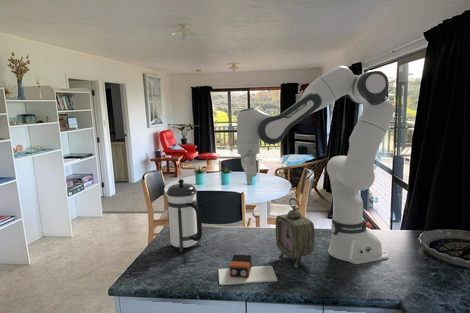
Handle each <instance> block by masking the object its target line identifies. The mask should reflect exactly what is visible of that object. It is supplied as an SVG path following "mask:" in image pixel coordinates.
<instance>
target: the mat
mask: <svg viewBox="0 0 470 313" xmlns="http://www.w3.org/2000/svg"><path fill="white" fill-rule="evenodd" d="M271 282H278V278H277V276H276V273H275V271H274V268H273V265H259V266H251V270H250V274H249V278H241V277H230V267H228V268H218V285H219V286H227V285H241V284H242V285H243V284H244V285H245V284H256V283H271Z"/></svg>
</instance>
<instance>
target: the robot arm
mask: <svg viewBox="0 0 470 313" xmlns="http://www.w3.org/2000/svg"><path fill="white" fill-rule="evenodd" d="M389 85H390V84H389V79H388V75H386V74H385V72H383V71H380V70H377V69H372V70H367V71H364V73H361V74H359V75H356V74H354V73H353V71H352V70H351V69H350V68H349V67H347V66H346V65H345V66H344V65H340V66H337V67H335V68H333V69H331V70H329V71H327V72H325V73H323V74H322V75H320V76H319V77H317V78H316V79H315V80H313V81H312V82H311V83H310V84H309V85H307V87H306V88H305V89H304V91H303V94H302V96H301V97H300V98H299V100H297V102H295V103H293V105H291V106H289V107H288V108H286V110H284V111H283V112H281V113H279V114H277V115H271V114H268V113H266V112H264V111H261V110H259V109H258V108H257V107H250V108H245V109H241V110H240V111H239V112H238V114H237V117H236V132H237V141H236V143H237V144H236V145H237V147H236V148H237V151H236V152H237V154H238V155H240V163H241V167H242V169H243V171H244V173H245V177H246V183H247V184H248V185H251V184H252V183H253V177H254V178H255V177H257V175H258V171H257V170H258V169H257V166H258V165H257V155H259V154H260V151H261V150H260V141H262V142H263V143H265V144H267V145H277V144H279V143H280V142H282V141H283V140H284V138H285V137H286V135H287V134H288V132H289V131H290V130H291V128H293V127H294V126H295V125H297V124H298V123H300V122H301V121H302V120H304V119H305V118H307V117H308V116H309V115H311V114H313V113H315V112H318V111H319V110H322V109H324V108H326V107H327V106H329V105H331V104H332V103H334V102H336V101H338V99H340V98H341V97H344V96H345V97H347V98H348V99H349V100H351V101H352V102H353V103H355V104H358V105H362V112H361V115H360V117H359V118H358V121H357V122H356V124H355V126H354V128H353V130H352V132H351V134H350V136H349V138H348V143H349V144H348V146H349V147H348V151H347V155H336V156H332V157H331V158H330V160H328V162H327V164H326V172H327V174H328V176H329V182H330V189H331V193H332V218H331V224H330V225H331V226H330V227H331V238H330V239H331V240H330V244H329V246H328V250H327V253H328V254H329V256H331V257H333V258H335V259H337V260H341V261H344V262H349V263H351V264H354V265H359V264H360V265H361V264H366V263H372V262H377V261H382V260H386V259H389V254H388V252H387V251H386V249H384V248H383V247H382V242H381V240H380V239H379V237H377V236H376V235H375V234H374V233H372V232H371V231H370V230H369V229H371V228H372V223H370V222H367V221H366V220H364V219H363V215H364V214H363V210H364V202H363V199H362V196H361V194H360V191H363V192H364V191H366V190H368V189H369V188H371V187H372V186H373V184H374V182H375V179H376V176H375V171H374V165H375V162H376V161H375V160H376V156H377V153H378V150H379V148H380V146H381V143H382V141H383V140H384V138H385V136H386V134H387V132H388V130H389V128H390V125H391V122H392V120H393V117H394V115H395V107H394V105H393V103H392V102H391V101H390V100H388V98H389V88H390V87H389Z"/></svg>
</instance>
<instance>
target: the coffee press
mask: <svg viewBox="0 0 470 313" xmlns="http://www.w3.org/2000/svg"><path fill="white" fill-rule="evenodd" d="M197 191H198V190H197V188H196V187H195V185H193V184H190V183H184V179H183V178H180V179H179V180H178V181H177V183H175V184H172V185H170V186H169V187H168V188H167V191H165V192H166V193H165V194H166V196H167V201H166V202H167V216H168V231H169V232H168V233H169V234H168V235H169V241H168V243H167V247H171V246H173V247H175V248H178V249H179V253H180V254H183V253H184V249H185V248H189V247H192V246H194V245H196V246H198V247H201V246H202V241H201V239H202V237H203V236H202V235H203V234H202V233H203V228H202V226H203V225H202V224H203V223H202V214H201V210H200V208H199V206H198V202H197V201H198V199H197ZM169 243H170V244H169Z"/></svg>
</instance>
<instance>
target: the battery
mask: <svg viewBox="0 0 470 313" xmlns="http://www.w3.org/2000/svg"><path fill="white" fill-rule="evenodd" d="M251 267H252V255H251V254H250V255H249V254H233V256H232V259H231V260H230V264H229V268H230V277H241V278H249V274H250V270H251Z"/></svg>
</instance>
